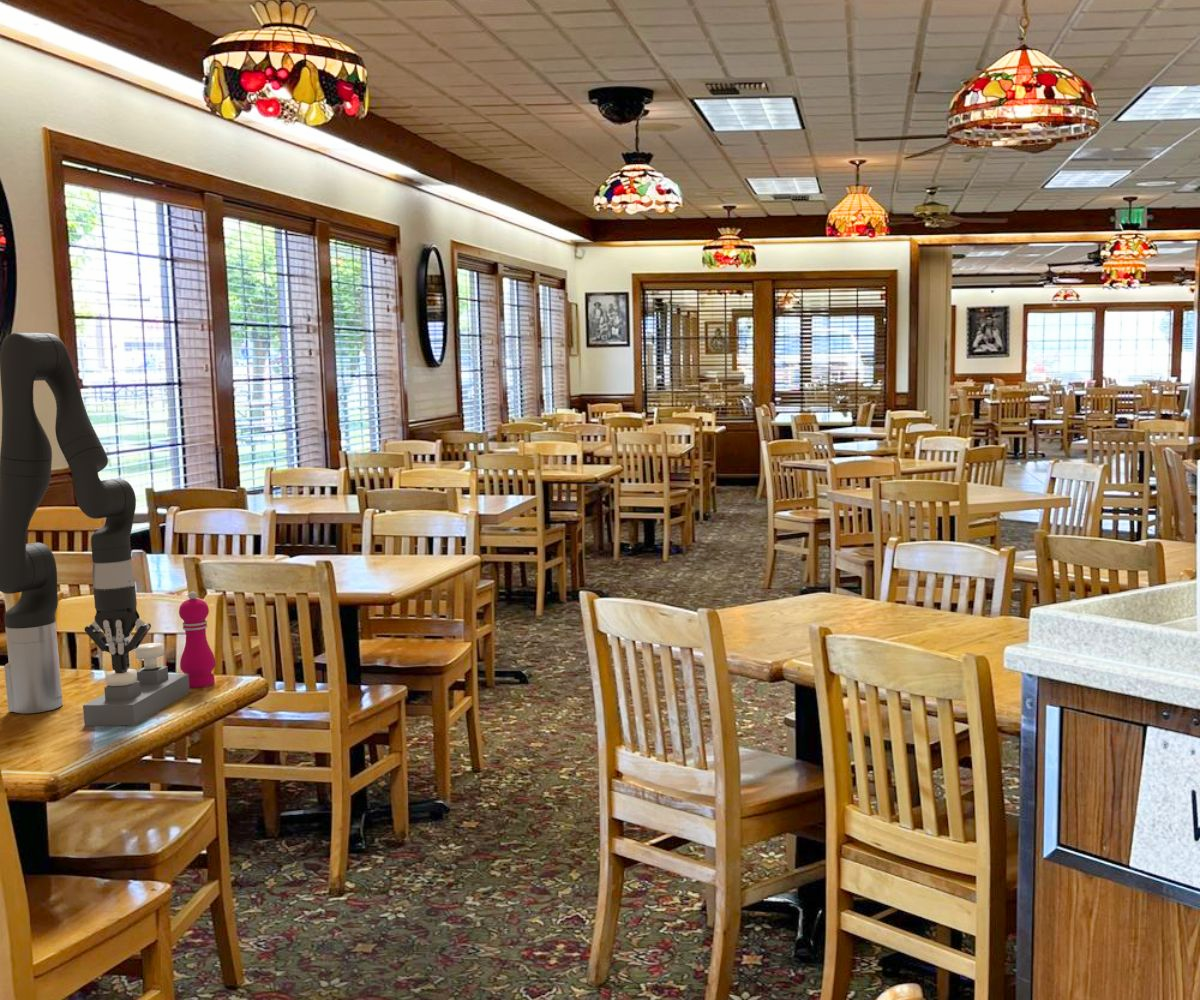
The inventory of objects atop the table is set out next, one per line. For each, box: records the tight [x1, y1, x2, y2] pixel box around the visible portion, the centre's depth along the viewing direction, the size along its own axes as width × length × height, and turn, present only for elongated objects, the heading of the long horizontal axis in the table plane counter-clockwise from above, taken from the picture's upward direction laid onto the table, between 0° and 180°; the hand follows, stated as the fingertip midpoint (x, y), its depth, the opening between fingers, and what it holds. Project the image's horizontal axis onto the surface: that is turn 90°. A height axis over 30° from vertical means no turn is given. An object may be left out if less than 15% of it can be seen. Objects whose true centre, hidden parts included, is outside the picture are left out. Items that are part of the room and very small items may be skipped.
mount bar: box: [82, 665, 191, 727], centre depth 253 cm, size 10×24×6 cm, turn 173°
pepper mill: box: [178, 591, 217, 689], centre depth 271 cm, size 7×7×20 cm
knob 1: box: [105, 668, 137, 686], centre depth 247 cm, size 6×6×4 cm
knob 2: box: [134, 642, 165, 669], centre depth 259 cm, size 6×6×4 cm
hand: (121, 672), depth 247 cm, fingers closed
